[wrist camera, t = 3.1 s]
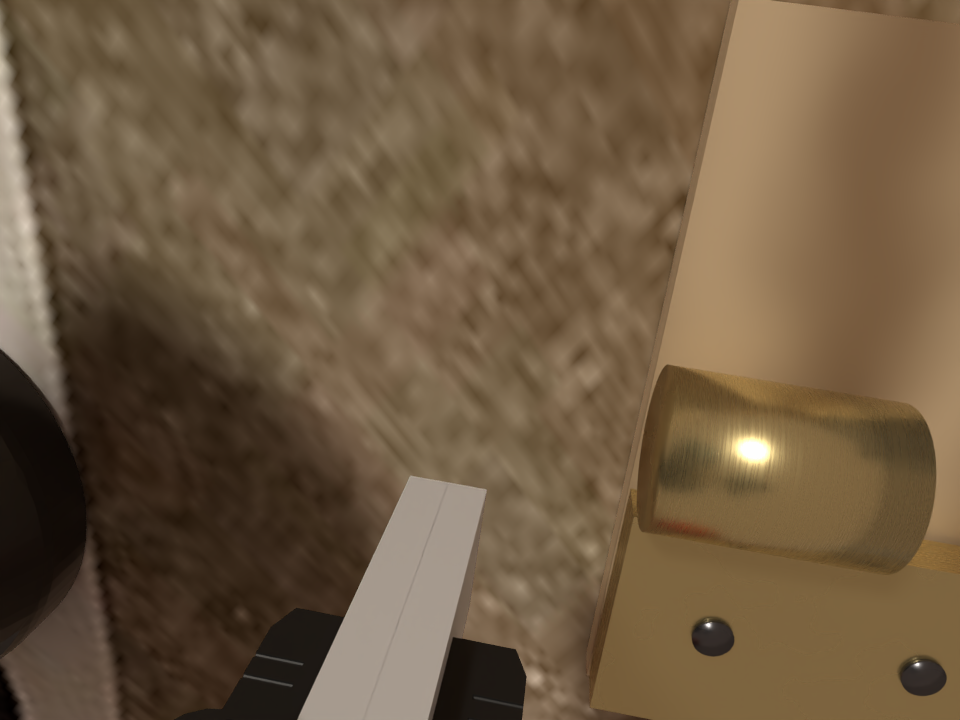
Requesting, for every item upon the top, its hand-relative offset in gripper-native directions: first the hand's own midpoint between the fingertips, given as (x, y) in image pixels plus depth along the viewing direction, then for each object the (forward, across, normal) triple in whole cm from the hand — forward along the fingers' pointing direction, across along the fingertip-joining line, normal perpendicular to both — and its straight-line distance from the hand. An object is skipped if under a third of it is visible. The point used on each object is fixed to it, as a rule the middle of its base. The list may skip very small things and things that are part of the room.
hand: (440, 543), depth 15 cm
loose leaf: (+8, +11, -4) cm, 14 cm away
